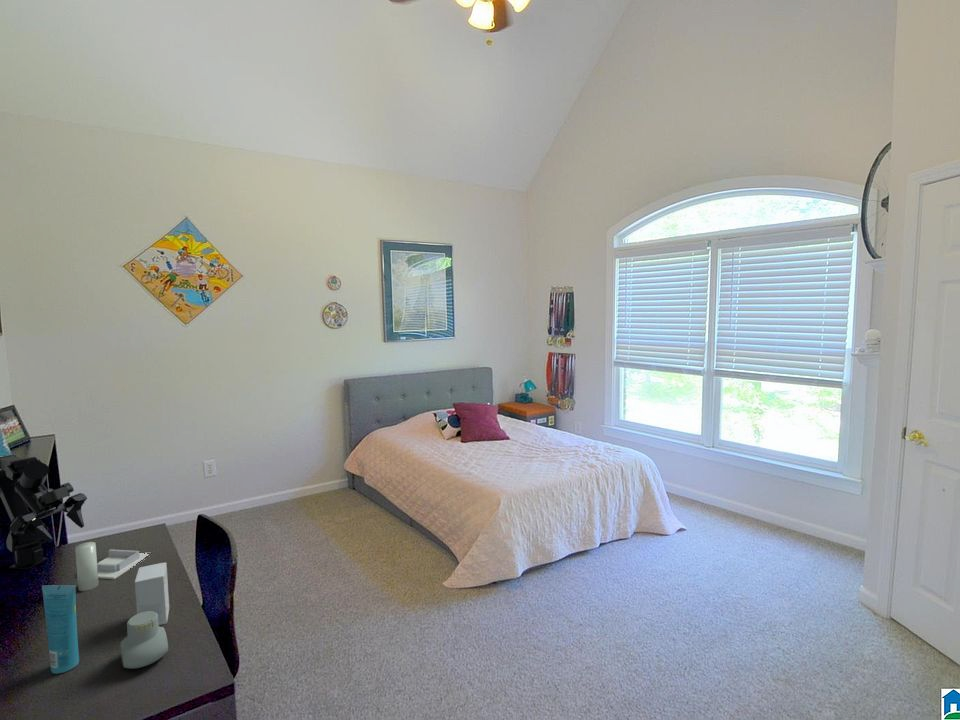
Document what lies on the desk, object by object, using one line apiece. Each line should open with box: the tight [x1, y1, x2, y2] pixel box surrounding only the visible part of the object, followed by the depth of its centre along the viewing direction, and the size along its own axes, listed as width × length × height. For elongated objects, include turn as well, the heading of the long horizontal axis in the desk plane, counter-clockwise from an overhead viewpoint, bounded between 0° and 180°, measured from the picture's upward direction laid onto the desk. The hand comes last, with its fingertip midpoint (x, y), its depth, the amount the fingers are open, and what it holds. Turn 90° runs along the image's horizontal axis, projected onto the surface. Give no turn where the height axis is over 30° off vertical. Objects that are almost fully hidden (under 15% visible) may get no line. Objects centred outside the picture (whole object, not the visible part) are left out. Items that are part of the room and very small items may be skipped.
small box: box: [133, 562, 170, 626], centre depth 127 cm, size 8×6×13 cm
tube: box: [41, 584, 80, 675], centre depth 110 cm, size 7×5×19 cm, turn 96°
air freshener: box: [119, 611, 169, 670], centre depth 113 cm, size 11×8×10 cm
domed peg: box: [74, 541, 100, 592], centre depth 142 cm, size 5×5×12 cm
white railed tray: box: [97, 548, 149, 580], centre depth 155 cm, size 12×15×3 cm
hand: (67, 533), depth 147 cm, fingers open, 9 cm apart
